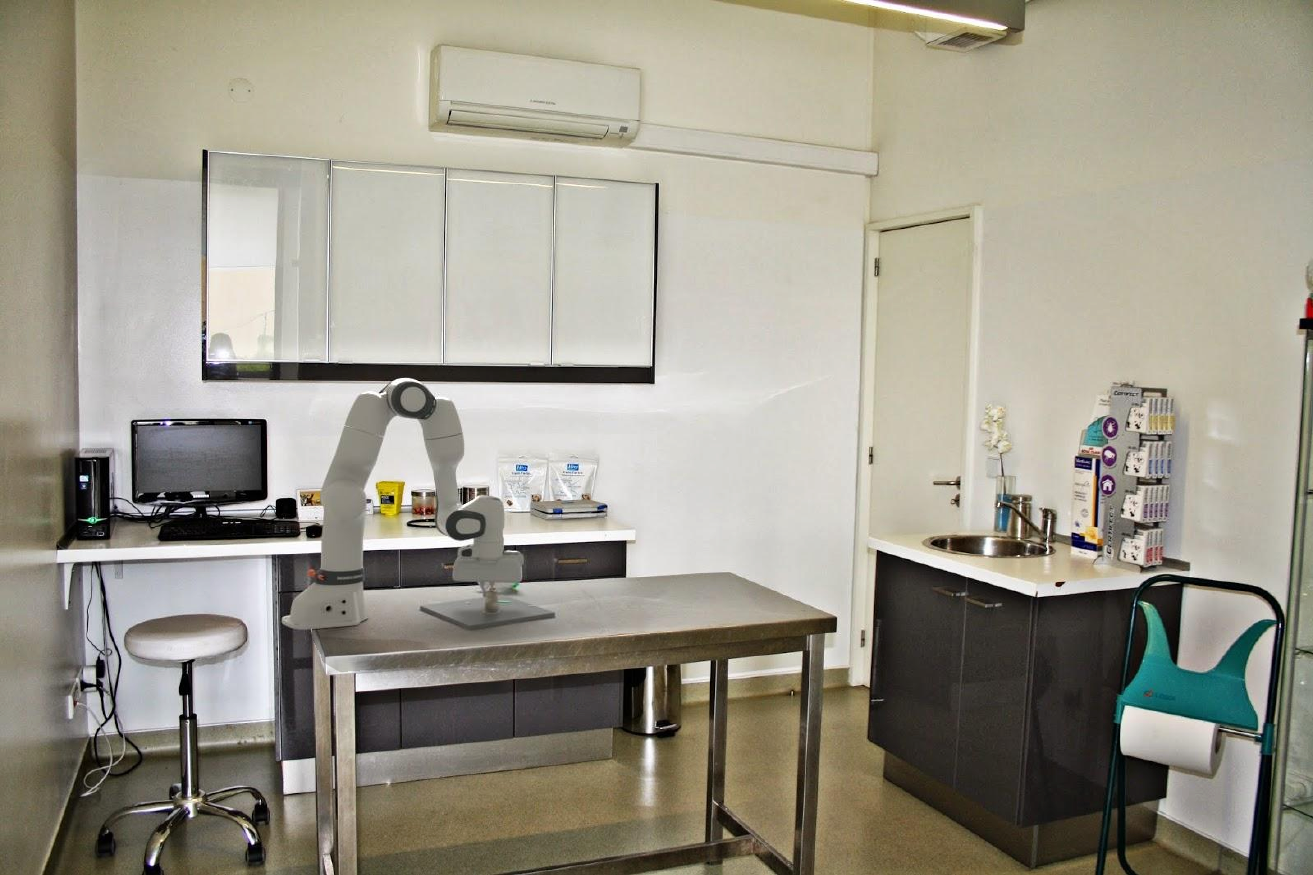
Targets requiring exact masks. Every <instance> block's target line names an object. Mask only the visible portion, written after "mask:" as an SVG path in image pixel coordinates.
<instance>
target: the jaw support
mask: <svg viewBox="0 0 1313 875" xmlns="http://www.w3.org/2000/svg"><path fill="white" fill-rule="evenodd" d="M477 583H478V585H479V586H480V582H477ZM494 586H496V587H495V589H496V592H497V593H499V591H501V590H503V589H507V588H510V589H516V588H517V587H518V586H520V582H519V583H501V582H495V584H494ZM484 587H485V589H486V590H489V588H490V587H491V586H489V582H485V585H484Z"/></svg>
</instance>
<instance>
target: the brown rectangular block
mask: <svg viewBox="0 0 1313 875" xmlns="http://www.w3.org/2000/svg"><path fill="white" fill-rule="evenodd" d="M495 587H496V586H493V588H492V590H491V591H490V592H487V593H486V596H485V612H488V613H494V612H498V595H499V592H496V589H495Z"/></svg>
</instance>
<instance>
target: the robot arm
mask: <svg viewBox="0 0 1313 875" xmlns="http://www.w3.org/2000/svg"><path fill="white" fill-rule="evenodd" d="M395 417H399V418H406V419H410V420H411V419H414V420H417V421H418V422H419V424H420V427H421V428H422V429H421V430H422V436H423V441H424V446H425V450H426V454H427V457H428V459H429V463H430V466H431V469H432V472H433V478H434V480H433V481H434V485H435V486H434V487H435V492H436V500H437V501H436V502H437V504H436V510H435V513H434V518H433V519H434V525H435V528H436V529H437V531H438V532H439V533H440V534H441V535H443V536H446V537H448V538H450V539H452V540H454V541H457V542H462V541H467V540H473V543H470V544H466V545H463V546H461V547H459V548H458V549H457V558H456V559H455V560H454V563H453V568H452V574H451V575H452V577H451V578H452V580H453V581H454V582H473V583H474V582H475V583H478V582H480V585H479V586H480V589H481V590H482V593H483V594H482V597H485V596H486V593H487V592H490V591H491V590H492V588H493V586H494V584H495V582H498V583H500V582H501V583H519V584H520V583H521V581H522V579H523V569H522V566H523V565H524V562H525V559H524V558H525V557H524V554H523V553H521V552H520V551H518V550H504V547H505V544H504V542H505V538H504V528H505V507H504V502H503V501H502V500H501V499H500V498H499V497H496V496H493V495H490V494H480V495H479V494H478V495H477V496H476V497H475V498H474V499H472V500H470V501H468V502H467V503H465V504H463V503H462V501H461V499H460V495H459V489H458V481H457V467H458V466H459V464H460V462H461V461H462V460H463V458H464V455H465V440H464V439H465V438H464V432H463V427H462V423H461V419H460V417H459V413H458V410H457V408H456V406H455V403H454V402H453V401H452V399H450V398H449V397H448V398H447V397H444V396H435V395H434V394H432V392H431V391H430V389H429V388H428V387H427V386H426V385H425V384H423V383H422V382H421V381H418V380H416V379H415V378H411V377H400V378H395V379H393V380H391V381H390V382H389V383H388V384H386V385H385V386H384V387H383V388H382V389H381V390H380V391H379V392H378V393H377V392H374V391H366V392H362V393H360V394H359V395H357V396H356V398H355V400H354V402H353V404H352V406H351V408H350V410H349V412H348V415H347V418H346V420H345V422H344V425H343V429H342V431H341V435H340V438H339V441H338V445H337V448H336V450H335V453H334V455H333V458H332V461H331V463H330V465H329V467H328V471H327V473H326V476H325V478H324V481H323V483H322V487H321V489H320V492H319V501H320V503H321V505H322V507H323V520H322V521H323V522H322V530H321V531H322V534H321V541H320V542H321V544H320V551H321V552H320V559H321V560H320V568H318V570H317V571H316V570H314V569H308V571H307V576H308V577H310V578H311V579H312V578H313V579H314V580H313V583H312V584H311V585H309V586H308V587H307V588H306V589H305V590H303V591H302V592H301V593H299V594H298V595H296V596H295V597H294V599H293V600H292V604H291V607H290V614H289V615H285V616H283V617H282V618H281V623H282V624H283V625H284V626H286V627H287V628H291V629H294V630H300V631H301V630H304V631H305V630H306V631H307V630H316V629H317V630H318V629H326V628H327V629H328V628H336V627H338V628H339V627H351V626H358V625H359V624H360V623H361V622H363V621H365V620H367V619H368V618H369V616H368V612H367V608H366V603H365V596H364V586H365V567H364V566H363V565H364V564H363V562H364V536H365V526H366V516H367V515H366V514H367V501H368V500H367V499H368V498H367V494H366V492H365V488H366V486H367V484H368V481H369V478H370V476H371V474H372V473H373V472H372V471H373V470H374V467H375V466H376V463H377V460H378V457H379V454H380V451H381V447H382V444H383V442H384V437H385V434H386V432H387V427H388V426H389V424H390V422H391V420H392V419H393V418H395ZM485 582H489V586H491V587H489V588H488V589H487V590H486V589H485V587H484V585H485Z"/></svg>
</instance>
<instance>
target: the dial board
mask: <svg viewBox="0 0 1313 875" xmlns="http://www.w3.org/2000/svg"><path fill="white" fill-rule="evenodd" d="M419 610H420V611H422V612H425V613H427V614H430V615H431V616H434V617H437V618H440V619H442V620H444V621H447V622H449V623H451V624H454V625H456V626H459V627H461V628H464V629H466V630H468V631H472V630H478V629H484V628H490V627H496V626H497V627H498V626H504V625H509V624H511V625H512V624H517V623H521V622H523V623H524V622H529V621H536V620H541V618H543V619H547V618H555V617H556V616H555V615H556V612H554V611H552V610H548V609H546V608H543V607H539V606H537V605H534V604H532V603H528V602H526V601H523V600H519V599H517V598H513V597H510V596H507V595H505V594H498V612H494V613H488V612H485V597H483V596H482V597H476V598H475V597H474V598H468V599H460V600H455V601H454V600H451V601H444V602H437V603H431V604H430V603H429V604H423V605H420V606H419Z"/></svg>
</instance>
